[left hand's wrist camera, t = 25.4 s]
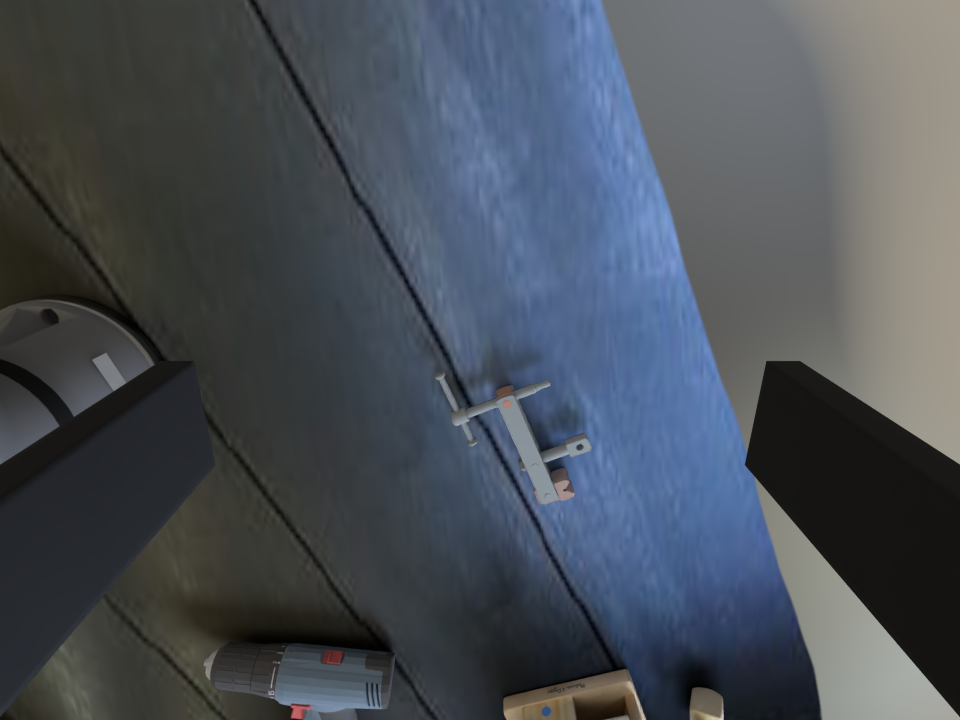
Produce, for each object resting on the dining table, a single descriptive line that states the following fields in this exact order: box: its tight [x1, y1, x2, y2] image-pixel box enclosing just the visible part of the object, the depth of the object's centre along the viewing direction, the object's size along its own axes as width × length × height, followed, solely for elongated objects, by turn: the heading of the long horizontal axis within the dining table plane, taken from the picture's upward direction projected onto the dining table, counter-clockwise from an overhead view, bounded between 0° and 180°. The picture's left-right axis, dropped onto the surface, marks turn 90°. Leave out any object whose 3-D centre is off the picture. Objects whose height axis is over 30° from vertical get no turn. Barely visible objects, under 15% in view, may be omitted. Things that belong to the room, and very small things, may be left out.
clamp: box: [434, 371, 591, 505], centre depth 46 cm, size 15×2×10 cm
